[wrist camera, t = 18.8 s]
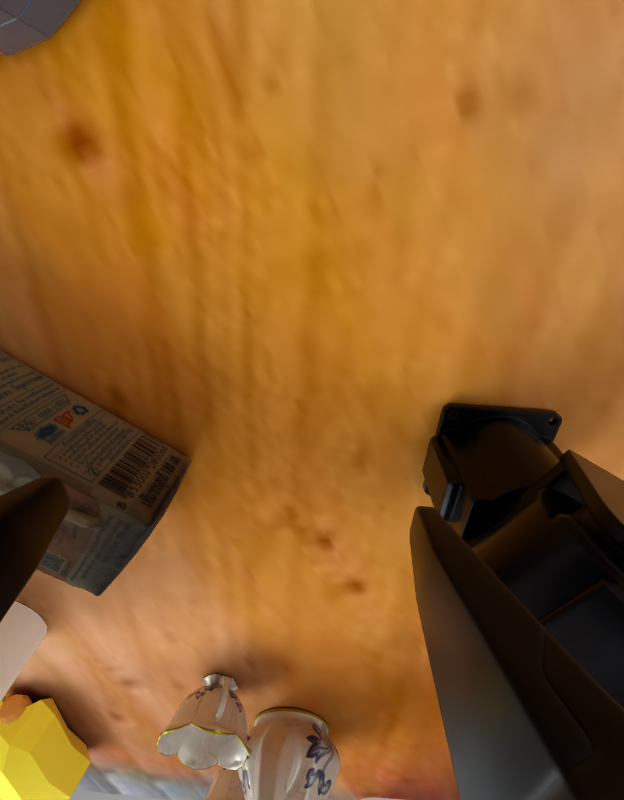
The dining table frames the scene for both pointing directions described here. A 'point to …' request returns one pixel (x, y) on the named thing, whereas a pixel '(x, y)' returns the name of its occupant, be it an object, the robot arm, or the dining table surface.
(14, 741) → the orange-capped yellow polyhedron
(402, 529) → the dining table surface
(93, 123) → the dining table surface
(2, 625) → the cylindrical container
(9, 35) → the bowl
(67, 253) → the dining table surface
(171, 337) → the dining table surface
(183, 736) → the chinaware
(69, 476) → the beverage carton
